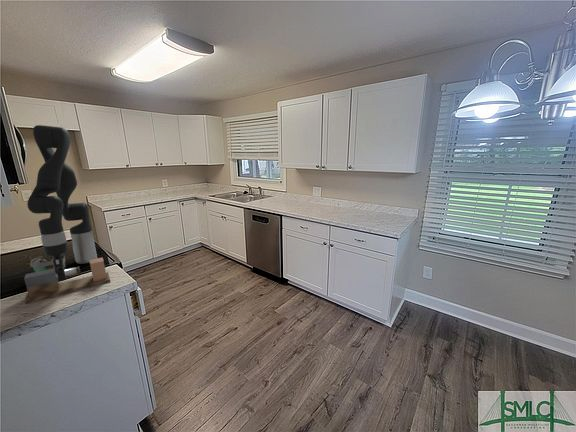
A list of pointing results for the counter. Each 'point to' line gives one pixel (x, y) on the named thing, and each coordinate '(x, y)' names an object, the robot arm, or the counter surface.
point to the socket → (98, 269)
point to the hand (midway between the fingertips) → (63, 276)
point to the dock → (61, 288)
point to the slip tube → (71, 271)
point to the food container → (41, 264)
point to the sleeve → (40, 277)
